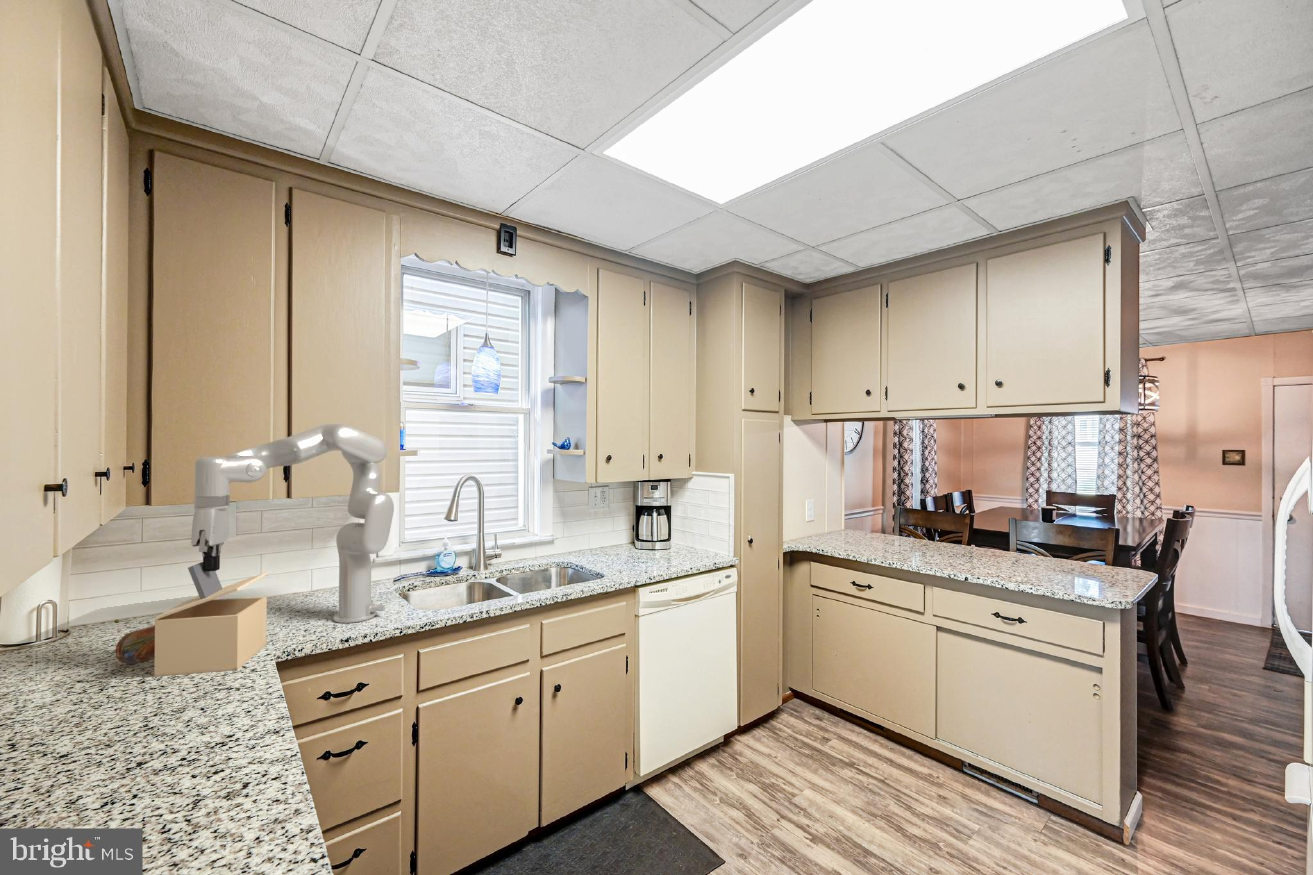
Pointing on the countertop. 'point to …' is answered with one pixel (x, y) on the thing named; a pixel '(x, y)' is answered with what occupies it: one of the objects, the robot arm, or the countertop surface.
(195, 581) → the lid
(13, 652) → the countertop surface
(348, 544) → the robot arm
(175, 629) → the carton
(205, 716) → the countertop surface
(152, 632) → the tin
